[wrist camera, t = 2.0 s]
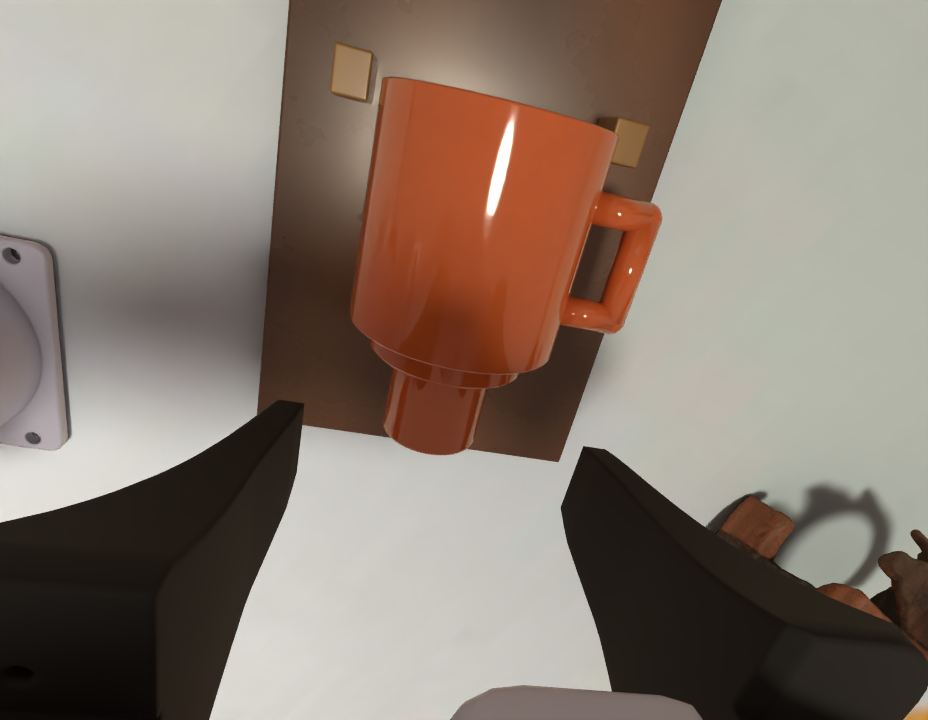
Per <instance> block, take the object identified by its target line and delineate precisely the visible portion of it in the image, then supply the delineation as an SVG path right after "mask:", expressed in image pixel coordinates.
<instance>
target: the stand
mask: <svg viewBox="0 0 928 720" xmlns="http://www.w3.org/2000/svg"><path fill="white" fill-rule="evenodd" d="M721 2H722V0H289V11H288V24H287V37H286V50H285V62H284V75H283V88H282V101H281V114H280V126H279V139H278V152H277V165H276V178H275V191H274V203H273V216H272V229H271V242H270V255H269V268H268V280H267V293H266V306H265V319H264V332H263V345H262V357H261V370H260V383H259V396H258V409H257V415H258V414H259V413H261V412H262V411H263V410H265V409H266V408H267V407H269V406H270V405H271V404H273V403H274V402H276V401H277V400H286V401H292V402H299V403H305V405H304V413H303V422H302V425H307V426H314V427H321V428H328V429H334V430H341V431H348V432H355V433H362V434H369V435H376V436H383V437H389V438H391V437H390V436H389V435H388V434H387V432H386V431H385V429H384V426H383V414H384V409H385V403H386V398H387V393H388V387H389V382H390V377H391V371H392V366H390V365H389V364H387V363H386V362H384V361H383V360H382V359H381V358H380V357H378V355H377V354H376V353H375V352H374V351H373V349H372V347H371V344H370V339H369V338H368V337H366V336H365V335H364V334H363V333H361V332H360V331H359V330H358V329H357V328H356V327H355V325H354V324H353V322H352V321H351V319H350V315H349V307H350V300H351V293H352V286H353V279H354V272H355V265H356V258H357V252H358V245H359V238H360V231H361V224H362V217H363V210H364V203H365V196H366V189H367V182H368V175H369V169H370V162H371V155H372V148H373V141H374V134H375V127H376V120H377V113H378V106H379V99H380V92H381V85H382V79H383V78H384V77H388V76H393V77H403V78H410V79H416V80H422V81H427V82H432V83H437V84H442V85H447V86H452V87H456V88H461V89H466V90H470V91H474V92H479V93H483V94H487V95H491V96H495V97H500V98H504V99H508V100H512V101H515V102H519V103H523V104H527V105H531V106H535V107H538V108H542V109H546V110H549V111H553V112H556V113H560V114H563V115H567V116H570V117H573V118H577V119H580V120H583V121H586V122H589V123H592V124H595V125H598V126H601V127H603V128H606V129H608V130H611V131H613V132H615V133H616V134H618V135H619V138H620V139H619V142H618V145H617V148H616V151H615V154H614V158H613V161H612V164H611V167H610V170H609V173H608V177H607V180H606V183H605V186H604V189H603V191H604V192H608V193H612V194H616V195H620V196H625V197H629V198H633V199H637V200H641V201H646V202H650V203H651V200H652V197H653V194H654V191H655V188H656V186H657V183H658V180H659V177H660V174H661V171H662V169H663V166H664V163H665V160H666V157H667V154H668V152H669V149H670V146H671V143H672V140H673V137H674V135H675V132H676V129H677V126H678V123H679V120H680V118H681V115H682V112H683V109H684V106H685V104H686V101H687V98H688V95H689V92H690V89H691V87H692V84H693V81H694V78H695V75H696V72H697V70H698V67H699V64H700V61H701V58H702V55H703V53H704V50H705V47H706V44H707V41H708V38H709V36H710V33H711V30H712V27H713V24H714V21H715V19H716V16H717V13H718V10H719V7H720V4H721ZM622 234H623V231H619V230H614V229H610V228H605V227H601V226H597V225H592V227H591V230H590V233H589V237H588V240H587V243H586V246H585V249H584V252H583V256H582V259H581V262H580V265H579V268H578V271H577V275H576V278H575V281H574V284H573V287H572V290H571V294H570V296H575V297H580V298H585V299H590V300H595V301H600V298H601V295H602V292H603V289H604V286H605V283H606V280H607V278H608V275H609V272H610V269H611V266H612V263H613V260H614V257H615V254H616V251H617V248H618V245H619V242H620V239H621V236H622ZM603 336H604V333H600V332H595V331H590V330H584V329H579V328H574V327H569V326H563V325H560V328H559V332H558V335H557V338H556V341H555V344H554V347H553V351H552V354H551V357H550V359H549V360H548V362H547V363H546V364H544V365H543V366H542V367H540V368H538V369H536V370H533V371H529V372H525V373H520V375H519V376H518V377H517V378H516V379H515V380H514V381H513V382H511V383H509V384H507V385H504V386H501V387H496V388H488V391H487V394H486V398H485V402H484V406H483V409H482V413H481V417H480V420H479V424H478V428H477V431H476V435H475V439H474V441H473V443H472V444H471V445H470V447H468V448H467V449H472V450H479V451H486V452H492V453H499V454H506V455H513V456H520V457H527V458H534V459H540V460H547V461H554V462H559V460H560V457H561V454H562V452H563V449H564V446H565V443H566V440H567V437H568V435H569V432H570V429H571V426H572V423H573V420H574V418H575V415H576V412H577V409H578V406H579V403H580V401H581V398H582V395H583V392H584V389H585V386H586V384H587V381H588V378H589V375H590V372H591V369H592V367H593V364H594V361H595V358H596V355H597V353H598V350H599V347H600V344H601V341H602V338H603Z"/></svg>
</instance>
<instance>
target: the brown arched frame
mask: <svg viewBox="0 0 928 720" xmlns="http://www.w3.org/2000/svg"><path fill="white" fill-rule="evenodd" d="M793 530H794V522H793V521H792V520H791V519H790V518H789V517H788V516H786V515H785V514H783V513H782V512H779V511H776V510H774V509H772V508H771V507H769V506H768V505H766V504H765V503H763V502H761V501H760V500H758V499H757V498H755V497H753V496H750V497H748V498H746V499H745V501H744V502H743V503H741V504H740V505H738V506H737V508H736V509H735V510H734V512H733V513H732V514H730V515H729V517H728V518H727V520H726V522H725V523H724V524H723V525H722V527H721V529H720V530H719V531H718V532H717V533H716V535H717V536H719V537H720V538H722V539H723V540H725V541H727V542H728V543H730V544H731V545H733V546H734V547H736V548H737V549H739V550H741V551H742V552H744V553H746V554H747V555H749V556H751V557H752V558H754V559H756V560H758V561H760V562H761V563H763V564H765V565H767V566H769V567H770V568H772V569H774V570H776V571H778V572H779V573H781V574H783V575H785V576H787V577H789V578H791V579H793V580H795V581H797V582H799V583H801V584H803V585H805V586H807V587H809V588H812V589H814V590H816V591H818V592H820V593H822V594H824V595H826V596H829V597H831V598H833V599H835V600H837V601H840V602H842V603H845V604H847V605H850V606H852V607H854V608H857V609H859V610H862V611H864V612H867V613H869V614H872V615H874V616H876V617H879V618H881V619H884V620H886V621H889V622H891V623H893V624H894V625H895V626H897V627H898V628H899V629H900V630H901V631H902V632H903V633H904V634H905V635H906V636H907V637H908V638H909V639H910V641H911V642H912V643H913V644H914V645H915V646H916V647H917V648H918V649H919V650H920V651H921V652H922V653H923V654H924V656H925V657H926V659H927V660H928V539H927V538H926V537H925V536H924V535H923V534H922V533H921V532H920V531H919V530H912V531H911V533H910V534H911V537H912V538H913V540H914V541H915V542H916V543H917V545H918V546H919V547H920V549H921V551H922V552H921V553H919V554H918V557H917V559H914V558H911V557H910V556H909V555H908V554H907V553H905V552H902V551H895V552H891V553H888V554H884V555H882V556H881V557H880V558H879V559H878V565H879V567H880V568H881V569H882V570H883V572H884V573H885V574H886V575H887V576H888V577H889V578H890V579H891V585H892V587H890V588H888V589H887V590H885V591H882V592H880V593H878V594H877V595H875V596H874V597H872V598H871V599H870V600H869V598H868V597H867V596H866V595H865V594H864V593H863V592H862V591H860V590H859V589H854V588H852V587H850V586H847V585H844V584H838V583H831V584H827V585H823V586H821V587H819V588H815V587H814V586H813V585H812V584H810V583H808V582H807V581H805V580H802V579H800V578H798V577H796V576H794V575H793V574H791V573H789V572H787V571H786V570H784V569H781V568H780V566H778V565H777V564H776V563H775V562H774V561H773V559H774V557H775V556H776V553H777V550H778V548H779V547H780V546H781V545H782V543H783V542H784V540H785V539H786V537H787V536H788V535H789V534H790V533H791V532H792V531H793Z"/></svg>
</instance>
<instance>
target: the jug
mask: <svg viewBox="0 0 928 720" xmlns="http://www.w3.org/2000/svg"><path fill="white" fill-rule="evenodd" d="M619 139H620V138H619V135H618V134H616V133H615V132H613V131H611V130H608V129H606V128H603V127H601V126H598V125H595V124H592V123H589V122H586V121H583V120H580V119H577V118H573V117H570V116H567V115H563V114H560V113H556V112H553V111H549V110H546V109H542V108H538V107H535V106H531V105H527V104H523V103H519V102H515V101H512V100H508V99H504V98H500V97H495V96H491V95H487V94H483V93H479V92H474V91H470V90H466V89H461V88H456V87H452V86H447V85H442V84H437V83H432V82H427V81H422V80H416V79H410V78H403V77H393V76H388V77H384V78H383V79H382V85H381V92H380V99H379V106H378V113H377V120H376V127H375V134H374V141H373V148H372V155H371V162H370V169H369V175H368V182H367V189H366V196H365V203H364V210H363V217H362V224H361V231H360V238H359V245H358V252H357V258H356V265H355V272H354V279H353V286H352V293H351V300H350V307H349V315H350V319H351V321H352V322H353V324H354V325H355V327H356V328H357V329H358V330H359V331H360V332H361V333H363V334H364V335H365V336H366V337H368V338H369V339H370V344H371V347H372V349H373V351H374V352H375V353H376V354H377V355H378V357H380V358H381V359H382V360H383V361H384V362H386V363H387V364H389V365H390V366H392V371H391V377H390V382H389V387H388V393H387V398H386V403H385V409H384V414H383V426H384V429H385V431H386V432H387V434H388V435H389V436H390V437H391V438H392V439H393V440H394V441H396V442H397V443H399V444H400V445H402V446H404V447H406V448H409V449H411V450H414V451H417V452H421V453H425V454H431V455H450V454H456V453H459V452H462V451H464V450H466V449H467V448H468V447H470V445H471V444H472V443H473V441H474V439H475V435H476V431H477V428H478V424H479V420H480V417H481V413H482V409H483V406H484V402H485V398H486V394H487V391H488V388H496V387H501V386H504V385H507V384H509V383H511V382H513V381H514V380H515V379H516V378H517V377H518V376H519V375H520V373H525V372H529V371H533V370H536V369H538V368H540V367H542V366H543V365H544V364H546V363H547V362H548V360H549V359H550V357H551V354H552V351H553V347H554V344H555V341H556V338H557V335H558V332H559V328H560V325H563V326H569V327H574V328H579V329H584V330H590V331H595V332H600V333H605V334H613V333H616V332H618V331H619V330H620V329H621V328H622V327H623V325H624V323H625V320H626V318H627V315H628V312H629V309H630V307H631V304H632V301H633V299H634V296H635V293H636V290H637V288H638V285H639V282H640V279H641V277H642V274H643V271H644V269H645V266H646V263H647V260H648V258H649V255H650V252H651V250H652V247H653V244H654V241H655V239H656V236H657V233H658V230H659V228H660V225H661V222H662V213H661V210H660V209H659V208H658V207H657V206H656V205H655V204H653V203H650V202H646V201H641V200H637V199H633V198H629V197H625V196H620V195H616V194H612V193H608V192H604V191H603V189H604V186H605V183H606V180H607V177H608V173H609V170H610V167H611V164H612V161H613V158H614V154H615V151H616V148H617V145H618V142H619ZM592 225H597V226H601V227H605V228H610V229H614V230H619V231H623V234H622V236H621V239H620V242H619V245H618V248H617V251H616V254H615V257H614V260H613V263H612V266H611V269H610V272H609V275H608V278H607V280H606V283H605V286H604V289H603V292H602V295H601V298H600V301H595V300H590V299H585V298H580V297H575V296H570V294H571V290H572V287H573V284H574V281H575V278H576V275H577V271H578V268H579V265H580V262H581V259H582V256H583V252H584V249H585V246H586V243H587V240H588V237H589V233H590V230H591V227H592Z"/></svg>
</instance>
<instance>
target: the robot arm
mask: <svg viewBox="0 0 928 720" xmlns="http://www.w3.org/2000/svg"><path fill="white" fill-rule="evenodd" d="M11 248H12V249H15V250H16V251H17V252H18V253H19V255H20V257H21V258H20V261H19V260H17V259H15V258H14V257H13V256H12V253H11ZM304 405H305V403H299V402H292V401H286V400H277V401H276V402H274V403H273V404H271V405H270V406H269V407H267V408H266V409H265V410H263V411H262V412H261V413H259V414H258V415H257V416H255V417H254V418H253V419H251V420H250V421H249V422H247V423H246V424H245V425H243V426H242V427H240V428H239V429H237V430H236V431H234V432H233V433H232V434H230V435H229V436H227V437H226V438H224V439H223V440H221V441H220V442H218V443H216V444H215V445H213V446H211V447H210V448H208V449H206V450H205V451H203V452H201V453H200V454H198V455H196V456H194V457H193V458H191V459H189V460H187V461H185V462H183V463H181V464H179V465H177V466H175V467H173V468H171V469H169V470H166V471H164V472H162V473H160V474H158V475H155V476H153V477H151V478H148V479H145V480H143V481H140V482H138V483H135V484H133V485H130V486H128V487H125V488H123V489H120V490H117V491H115V492H112V493H109V494H106V495H103V496H100V497H97V498H94V499H91V500H88V501H84V502H81V503H77V504H74V505H71V506H67V507H64V508H60V509H56V510H53V511H49V512H45V513H40V514H36V515H32V516H27V517H23V518H19V519H14V520H10V521H6V522H1V523H0V720H209V718H210V715H211V711H212V708H213V705H214V701H215V698H216V695H217V691H218V688H219V685H220V682H221V679H222V675H223V672H224V669H225V666H226V663H227V659H228V656H229V653H230V650H231V646H232V643H233V640H234V637H235V634H236V631H237V628H238V625H239V622H240V618H241V615H242V612H243V609H244V606H245V603H246V601H247V598H248V596H249V593H250V590H251V588H252V585H253V583H254V581H255V579H256V576H257V574H258V572H259V569H260V567H261V565H262V563H263V560H264V558H265V556H266V553H267V551H268V549H269V547H270V544H271V542H272V540H273V537H274V535H275V533H276V531H277V528H278V526H279V524H280V521H281V519H282V517H283V514H284V512H285V510H286V507H287V504H288V500H289V497H290V494H291V490H292V487H293V483H294V480H295V476H296V473H297V464H298V456H299V447H300V439H301V430H302V422H303V413H304ZM33 433H36V434H37V435H39V436H40V438H38V437H36V436H35V435H33ZM67 439H68V432H67V421H66V409H65V398H64V386H63V375H62V363H61V352H60V340H59V329H58V318H57V306H56V295H55V283H54V272H53V260H52V257H51V254H50V252H49V251H48V249H47V248H46V247H44V246H43V245H41V244H39V243H37V242H33V241H28V240H22V239H17V238H12V237H6V236H1V235H0V444H3V445H11V446H18V447H26V448H34V449H42V450H57V449H60V448H61V447H62V446H63V445H64V444H65V443H66V442H67ZM561 512H562V518H563V524H564V529H565V534H566V538H567V543H568V546H569V549H570V552H571V555H572V558H573V561H574V564H575V567H576V570H577V572H578V575H579V578H580V581H581V584H582V587H583V589H584V592H585V595H586V598H587V601H588V604H589V606H590V609H591V612H592V615H593V618H594V621H595V624H596V627H597V631H598V634H599V637H600V641H601V645H602V650H603V654H604V658H605V662H606V666H607V671H608V675H609V679H610V684H611V689H612V692H608V691H595V690H581V689H568V688H554V687H541V686H527V685H522V686H512V687H502V688H492V689H490V690H488V691H486V692H484V693H482V694H480V695H478V696H476V697H474V698H472V699H470V700H467V701H465V702H464V703H463V704H462V705H461V706H460V707H459V709H458V710H457V711H456V713H455V714H454V715H453V717H452V718H451V719H450V720H903V719H904V718H905V717H906V716H907V714H908V713H909V712H910V711H911V710H912V709H913V708H914V706H915V705H916V704H917V703H918V702H919V700H920V699H921V697H922V696H923V694H924V693H925V691H926V690H927V686H928V660H927V659H926V657H925V656H924V654H923V653H922V652H921V651H920V650H919V649H918V648H917V647H916V646H915V645H914V644H913V643H912V642H911V641H910V639H909V638H908V637H907V636H906V635H905V634H904V633H903V632H902V631H901V630H900V629H899V628H898V627H897V626H895V625H894V624H893V623H891V622H889V621H886V620H884V619H881V618H879V617H876V616H874V615H872V614H869V613H867V612H864V611H862V610H859V609H857V608H854V607H852V606H850V605H847V604H845V603H842V602H840V601H837V600H835V599H833V598H831V597H829V596H826V595H824V594H822V593H820V592H818V591H816V590H814V589H812V588H809V587H807V586H805V585H803V584H801V583H799V582H797V581H795V580H793V579H791V578H789V577H787V576H785V575H783V574H781V573H779V572H778V571H776V570H774V569H772V568H770V567H769V566H767V565H765V564H763V563H761V562H760V561H758V560H756V559H754V558H752V557H751V556H749V555H747V554H746V553H744V552H742V551H741V550H739V549H737V548H736V547H734V546H733V545H731V544H730V543H728V542H727V541H725V540H723V539H722V538H720V537H719V536H717V535H716V534H714V533H713V532H711V531H710V530H708V529H707V528H705V527H704V526H703V525H701V524H700V523H698V522H697V521H696V520H694V519H693V518H692V517H690V516H689V515H688V514H686V513H685V512H684V511H682V510H681V509H680V508H678V507H677V506H676V505H674V504H673V503H672V502H671V501H669V500H668V499H667V498H666V497H664V496H663V495H662V494H661V493H659V492H658V491H657V490H656V489H655V488H653V487H652V486H651V485H650V484H648V483H647V482H646V481H645V480H644V479H642V478H641V477H640V476H639V475H638V474H636V473H635V472H634V471H633V470H632V469H630V468H629V467H628V466H627V465H625V464H624V463H623V462H622V461H620V460H619V459H618V458H617V457H615V456H614V455H612V454H611V453H610V452H608V451H607V450H605V449H598V448H592V447H585V446H583V449H582V452H581V454H580V457H579V460H578V462H577V465H576V468H575V470H574V473H573V476H572V479H571V481H570V484H569V487H568V489H567V492H566V495H565V497H564V500H563V503H562V506H561Z"/></svg>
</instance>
